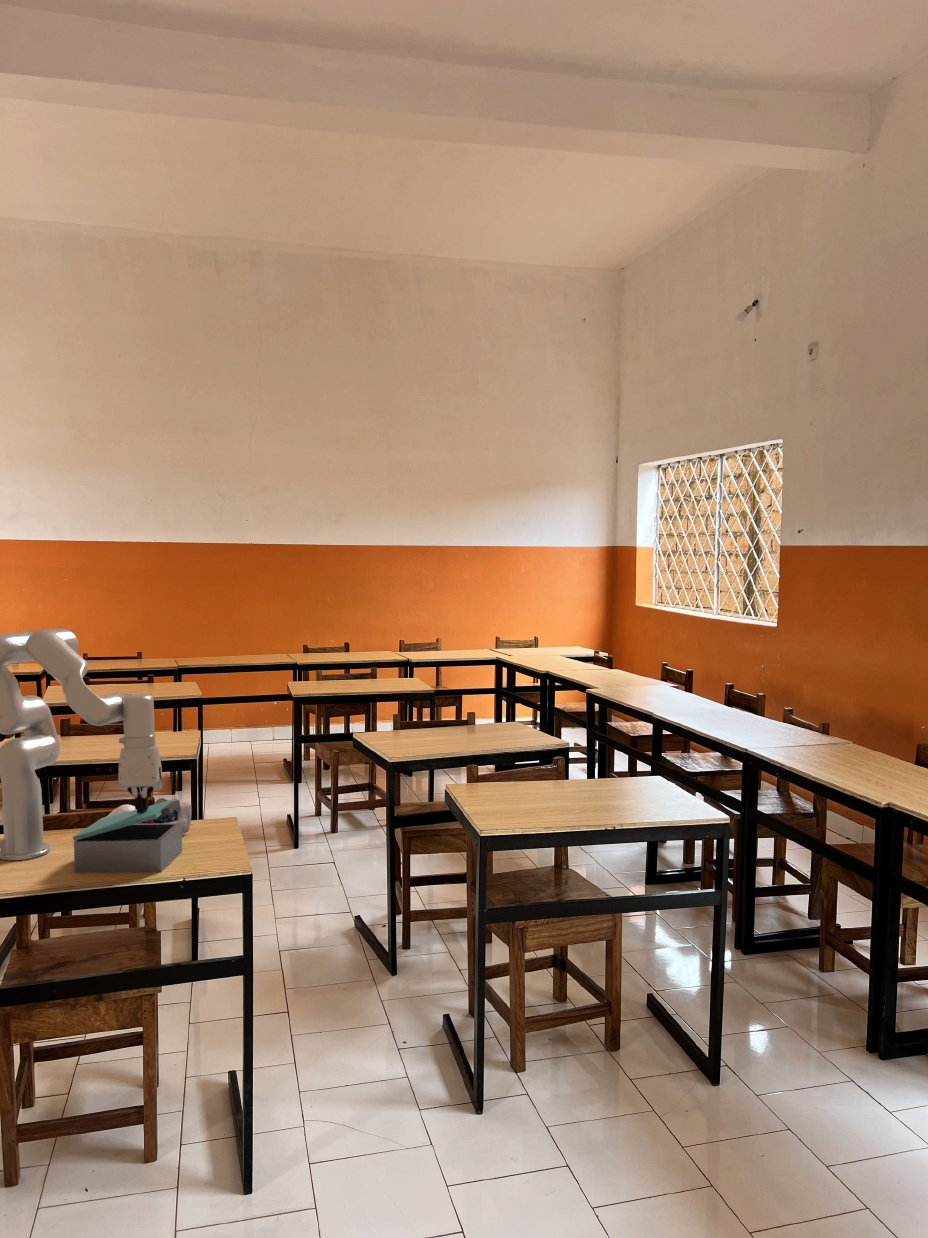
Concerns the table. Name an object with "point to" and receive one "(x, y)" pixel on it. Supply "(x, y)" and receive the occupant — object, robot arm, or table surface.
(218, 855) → the table surface
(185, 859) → the table surface
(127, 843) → the grey storage box
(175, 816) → the cell model
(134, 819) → the lid
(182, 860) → the table surface
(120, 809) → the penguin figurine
